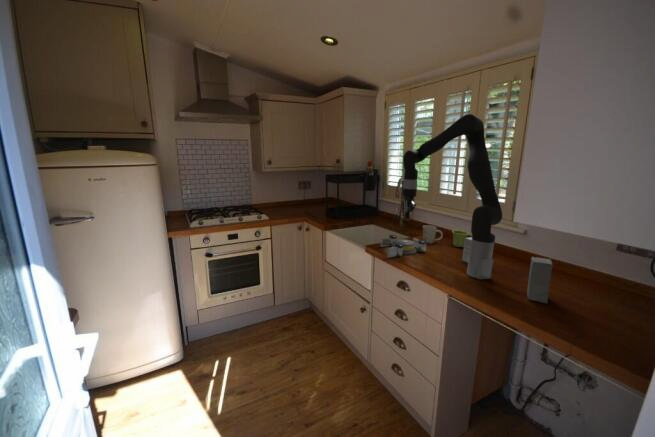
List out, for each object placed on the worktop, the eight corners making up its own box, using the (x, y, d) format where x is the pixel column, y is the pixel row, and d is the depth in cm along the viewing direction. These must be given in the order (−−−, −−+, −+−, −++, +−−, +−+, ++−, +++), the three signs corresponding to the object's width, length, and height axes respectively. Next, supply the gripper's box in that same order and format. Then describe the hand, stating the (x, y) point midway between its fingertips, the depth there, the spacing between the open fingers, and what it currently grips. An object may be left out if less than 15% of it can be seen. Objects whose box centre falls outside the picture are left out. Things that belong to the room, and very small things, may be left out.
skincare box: (547, 304, 112) (555, 265, 109) (525, 299, 116) (532, 261, 113) (545, 295, 120) (553, 258, 116) (524, 291, 123) (531, 255, 120)
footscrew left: (397, 252, 165) (398, 242, 163) (404, 255, 161) (405, 245, 160) (384, 256, 158) (385, 246, 157) (392, 259, 154) (392, 248, 153)
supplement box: (471, 258, 160) (474, 236, 157) (483, 263, 153) (487, 240, 151) (461, 260, 157) (464, 237, 154) (473, 265, 151) (476, 241, 148)
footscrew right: (427, 252, 168) (428, 242, 167) (420, 252, 167) (421, 242, 165) (417, 246, 178) (417, 236, 177) (409, 246, 177) (410, 237, 175)
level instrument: (421, 254, 165) (422, 244, 164) (398, 255, 162) (399, 245, 160) (409, 246, 178) (409, 237, 177) (387, 247, 175) (388, 238, 174)
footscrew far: (392, 243, 182) (393, 234, 180) (398, 245, 177) (399, 236, 176) (378, 245, 176) (379, 236, 175) (383, 248, 172) (384, 238, 171)
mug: (420, 239, 193) (421, 224, 191) (440, 241, 191) (442, 226, 189) (422, 243, 185) (424, 228, 183) (443, 245, 183) (445, 229, 181)
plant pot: (453, 242, 189) (455, 229, 187) (469, 246, 183) (471, 232, 181) (447, 245, 182) (449, 232, 180) (463, 249, 176) (465, 235, 174)
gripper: (422, 189, 156) (419, 221, 160) (410, 186, 169) (407, 215, 173) (409, 189, 155) (406, 221, 158) (398, 186, 167) (395, 216, 171)
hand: (406, 218), depth 166 cm, fingers closed
